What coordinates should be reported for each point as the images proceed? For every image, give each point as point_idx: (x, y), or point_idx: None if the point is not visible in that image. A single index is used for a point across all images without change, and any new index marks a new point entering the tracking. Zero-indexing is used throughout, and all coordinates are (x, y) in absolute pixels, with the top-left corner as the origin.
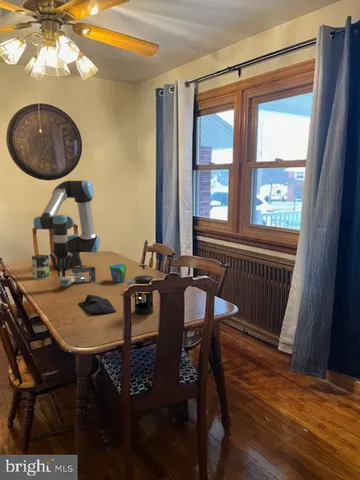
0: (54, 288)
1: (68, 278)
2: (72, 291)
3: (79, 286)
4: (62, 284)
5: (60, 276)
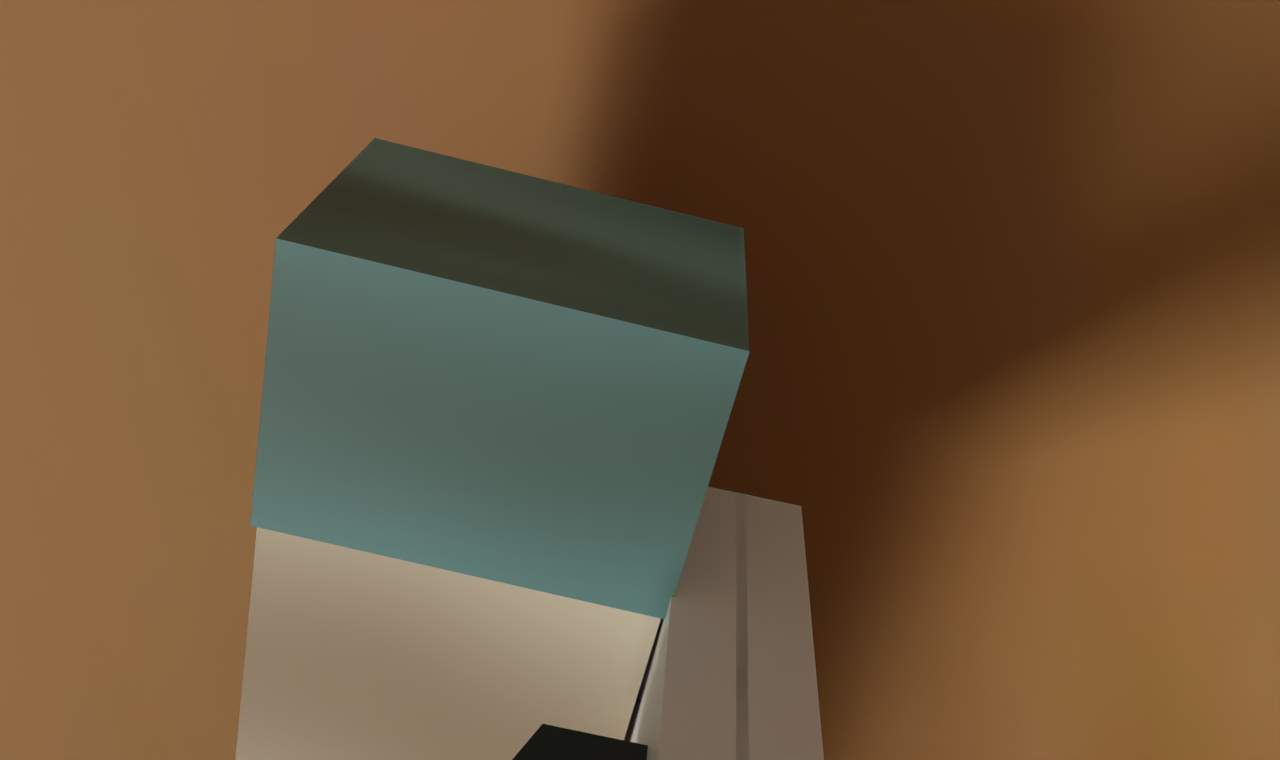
0: (1014, 522)
1: (360, 722)
2: (218, 2)
3: (159, 618)
4: (631, 231)
5: (769, 744)
